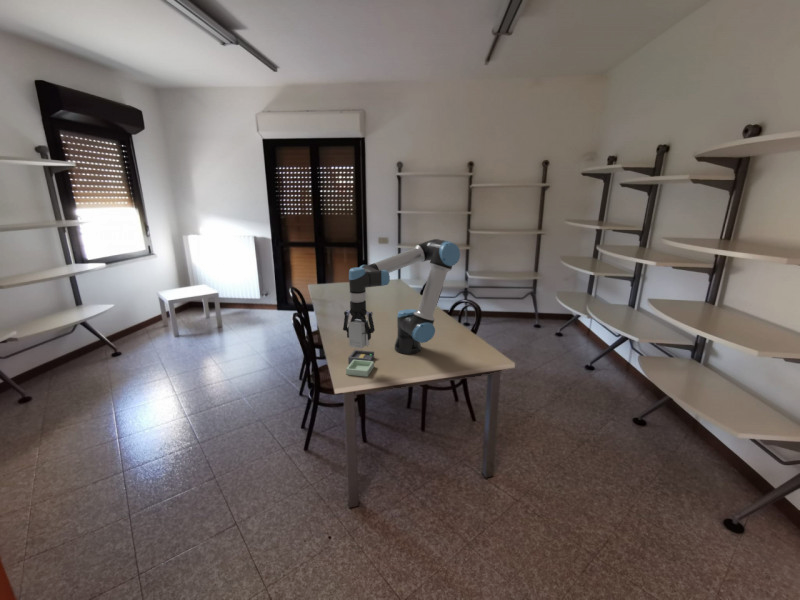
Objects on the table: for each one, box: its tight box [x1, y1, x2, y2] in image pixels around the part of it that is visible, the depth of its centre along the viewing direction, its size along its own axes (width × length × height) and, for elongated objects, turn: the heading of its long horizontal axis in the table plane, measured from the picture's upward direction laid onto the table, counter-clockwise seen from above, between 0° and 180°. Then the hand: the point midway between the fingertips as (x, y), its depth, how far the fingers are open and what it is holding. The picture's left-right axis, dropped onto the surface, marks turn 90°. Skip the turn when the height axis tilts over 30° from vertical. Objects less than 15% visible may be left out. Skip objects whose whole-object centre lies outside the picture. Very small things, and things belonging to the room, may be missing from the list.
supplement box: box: [348, 319, 370, 349], centre depth 178 cm, size 7×7×13 cm
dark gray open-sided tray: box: [348, 349, 375, 365], centre depth 195 cm, size 11×10×4 cm
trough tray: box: [345, 359, 375, 378], centre depth 184 cm, size 11×11×3 cm
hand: (359, 344), depth 180 cm, fingers closed on supplement box, 8 cm apart
